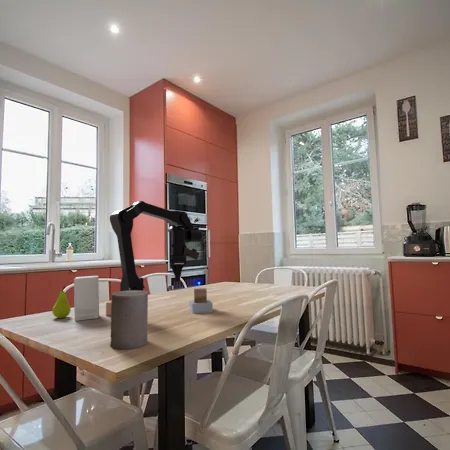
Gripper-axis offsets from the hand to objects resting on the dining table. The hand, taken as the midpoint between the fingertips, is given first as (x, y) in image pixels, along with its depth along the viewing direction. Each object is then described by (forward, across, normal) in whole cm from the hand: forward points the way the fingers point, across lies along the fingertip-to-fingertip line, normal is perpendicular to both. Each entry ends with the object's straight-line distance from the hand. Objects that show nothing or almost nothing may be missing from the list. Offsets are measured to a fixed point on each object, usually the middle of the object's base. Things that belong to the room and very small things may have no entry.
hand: (178, 280), depth 124 cm
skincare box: (+13, -4, +34) cm, 37 cm away
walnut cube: (+9, 0, -9) cm, 12 cm away
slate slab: (+13, 0, -9) cm, 16 cm away
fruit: (+14, -1, +44) cm, 46 cm away
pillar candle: (+14, -39, +12) cm, 43 cm away
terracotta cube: (+13, +2, +26) cm, 29 cm away
